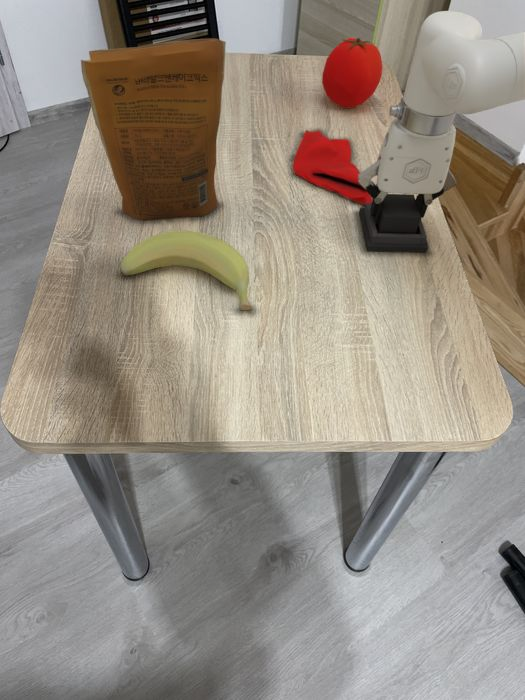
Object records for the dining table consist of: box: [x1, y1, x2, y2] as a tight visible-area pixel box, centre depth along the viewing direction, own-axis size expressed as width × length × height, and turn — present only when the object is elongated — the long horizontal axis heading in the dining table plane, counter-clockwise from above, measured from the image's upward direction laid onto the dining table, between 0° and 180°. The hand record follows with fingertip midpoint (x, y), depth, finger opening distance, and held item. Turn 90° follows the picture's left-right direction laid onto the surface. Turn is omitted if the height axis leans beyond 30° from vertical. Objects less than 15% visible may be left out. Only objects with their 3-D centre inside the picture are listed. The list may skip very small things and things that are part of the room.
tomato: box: [321, 37, 383, 109], centre depth 112 cm, size 12×12×13 cm
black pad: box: [378, 193, 422, 233], centre depth 88 cm, size 6×6×3 cm
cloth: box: [292, 129, 373, 206], centre depth 101 cm, size 26×14×2 cm, turn 10°
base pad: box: [358, 202, 429, 254], centre depth 90 cm, size 10×10×3 cm
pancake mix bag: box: [80, 38, 227, 222], centre depth 81 cm, size 7×19×28 cm, turn 100°
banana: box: [119, 230, 253, 311], centre depth 80 cm, size 14×6×20 cm
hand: (395, 218), depth 89 cm, fingers closed on black pad, 5 cm apart
